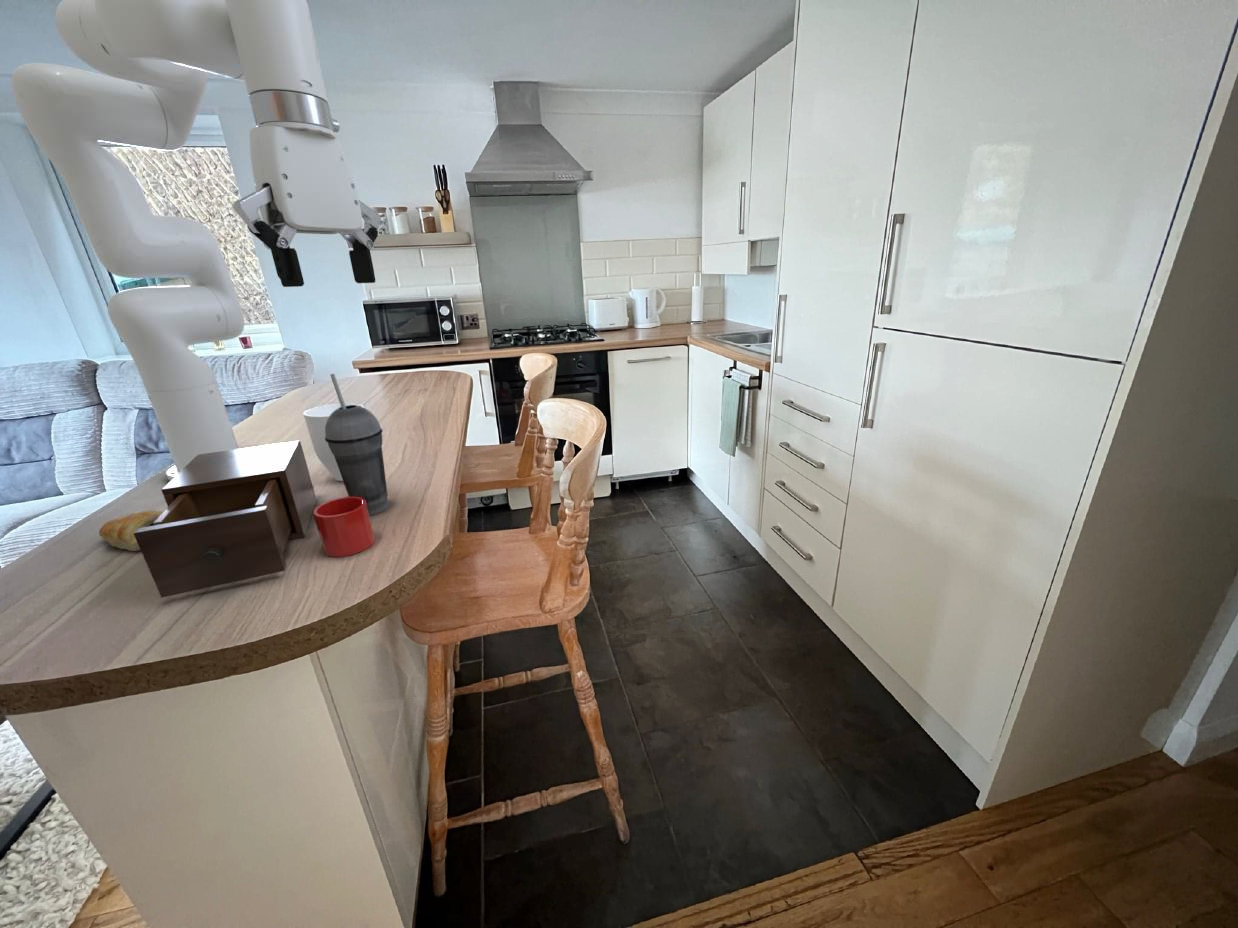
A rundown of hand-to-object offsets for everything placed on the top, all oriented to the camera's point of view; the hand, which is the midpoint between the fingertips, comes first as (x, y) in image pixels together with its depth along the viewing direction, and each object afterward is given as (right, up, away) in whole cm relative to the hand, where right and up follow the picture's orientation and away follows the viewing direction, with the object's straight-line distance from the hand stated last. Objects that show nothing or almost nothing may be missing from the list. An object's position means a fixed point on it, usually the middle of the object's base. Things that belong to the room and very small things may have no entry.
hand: (331, 284), depth 62 cm
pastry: (-29, -33, +6) cm, 44 cm away
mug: (-11, -24, +26) cm, 37 cm away
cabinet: (-15, -31, +8) cm, 35 cm away
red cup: (+1, -33, +2) cm, 33 cm away
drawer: (-10, -34, -2) cm, 35 cm away
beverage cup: (-1, -29, +12) cm, 31 cm away
